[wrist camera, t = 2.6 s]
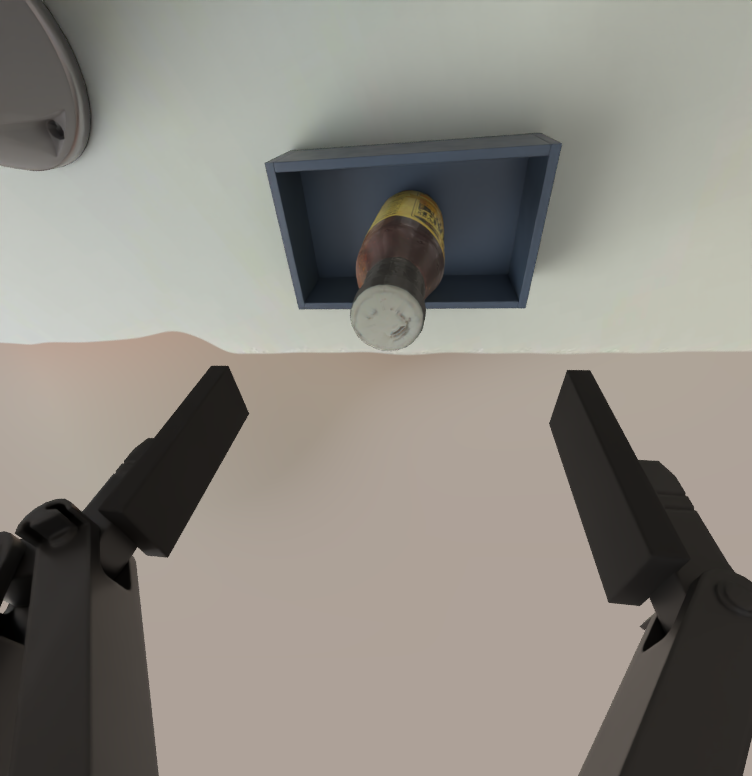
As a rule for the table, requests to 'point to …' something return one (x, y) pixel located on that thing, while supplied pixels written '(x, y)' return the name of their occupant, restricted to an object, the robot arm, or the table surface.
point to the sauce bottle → (398, 271)
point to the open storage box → (445, 186)
